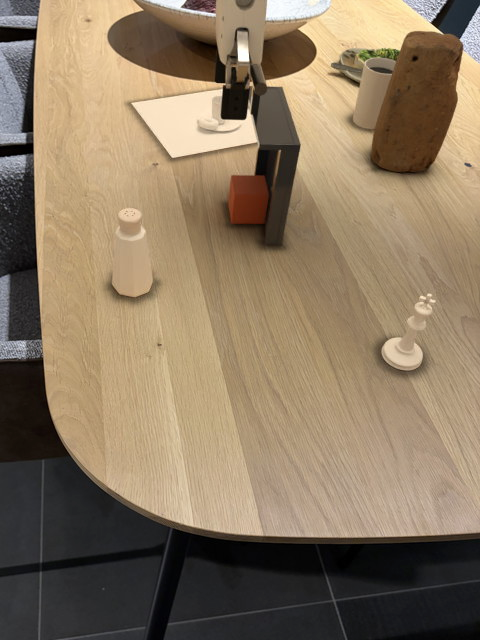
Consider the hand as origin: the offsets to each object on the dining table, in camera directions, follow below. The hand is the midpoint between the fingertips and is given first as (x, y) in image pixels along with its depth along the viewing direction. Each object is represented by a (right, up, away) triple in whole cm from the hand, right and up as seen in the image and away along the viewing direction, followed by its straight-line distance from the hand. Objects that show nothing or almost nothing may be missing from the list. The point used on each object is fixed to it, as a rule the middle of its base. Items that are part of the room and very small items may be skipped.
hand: (229, 99), depth 78 cm
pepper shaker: (-13, -24, +2) cm, 27 cm away
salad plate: (+34, +27, +48) cm, 65 cm away
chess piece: (+21, -33, -4) cm, 39 cm away
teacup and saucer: (-3, +10, +31) cm, 33 cm away
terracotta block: (+3, -8, +10) cm, 13 cm away
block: (+30, +1, +25) cm, 40 cm away
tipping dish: (+8, -4, +6) cm, 11 cm away
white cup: (+27, +11, +34) cm, 45 cm away
